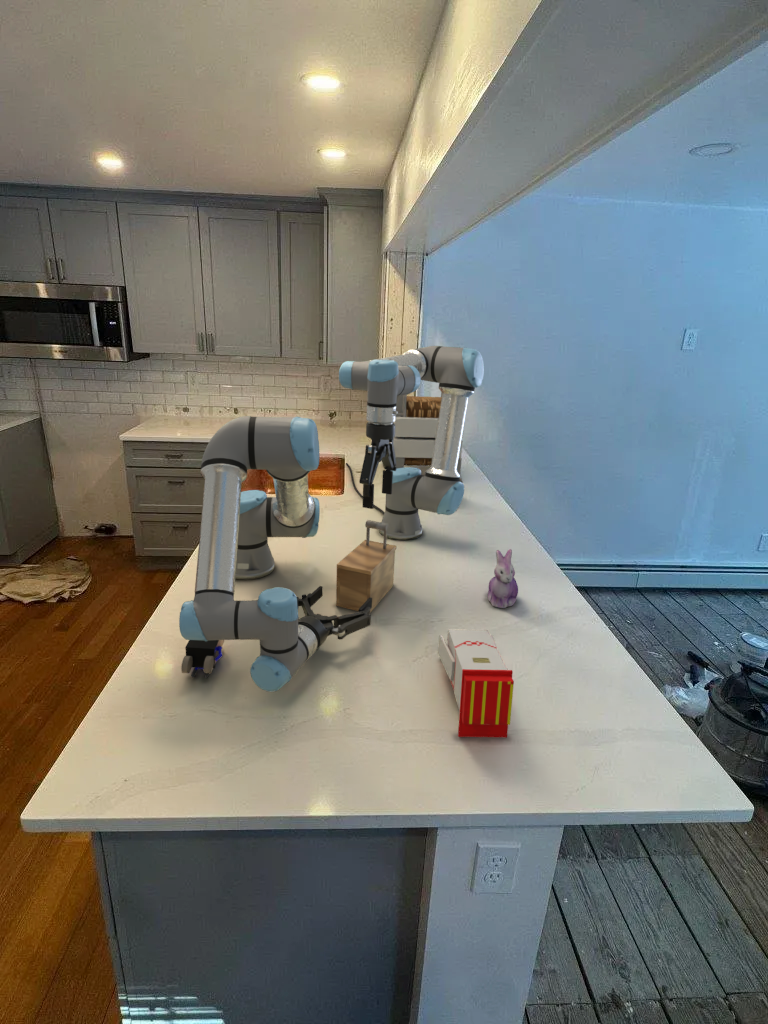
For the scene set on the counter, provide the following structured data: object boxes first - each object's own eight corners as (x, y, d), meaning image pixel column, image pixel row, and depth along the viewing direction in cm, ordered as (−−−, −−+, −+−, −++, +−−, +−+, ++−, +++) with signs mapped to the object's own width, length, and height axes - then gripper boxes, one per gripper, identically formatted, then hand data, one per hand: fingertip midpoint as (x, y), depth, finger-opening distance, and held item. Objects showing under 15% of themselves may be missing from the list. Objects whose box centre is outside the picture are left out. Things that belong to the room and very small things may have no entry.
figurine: (500, 612, 150) (506, 561, 145) (477, 595, 159) (482, 546, 153) (527, 605, 154) (535, 555, 149) (504, 589, 163) (510, 541, 158)
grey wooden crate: (382, 463, 289) (386, 382, 275) (445, 464, 293) (451, 384, 279) (390, 482, 257) (394, 392, 243) (460, 483, 261) (468, 394, 247)
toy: (488, 613, 130) (523, 677, 101) (484, 667, 133) (517, 744, 104) (435, 612, 130) (455, 676, 101) (432, 666, 133) (451, 743, 103)
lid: (364, 542, 163) (365, 515, 160) (396, 549, 159) (397, 521, 157) (336, 567, 146) (337, 537, 143) (370, 575, 143) (372, 544, 140)
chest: (362, 579, 166) (363, 544, 162) (393, 585, 162) (395, 550, 159) (336, 605, 150) (336, 567, 146) (369, 613, 147) (370, 575, 143)
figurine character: (214, 689, 118) (231, 642, 131) (211, 660, 114) (228, 615, 128) (182, 688, 118) (201, 641, 131) (177, 659, 114) (198, 614, 128)
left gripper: (255, 640, 128) (301, 599, 147) (355, 668, 120) (391, 621, 139) (254, 610, 126) (301, 573, 145) (356, 637, 118) (392, 593, 136)
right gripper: (376, 432, 134) (372, 516, 141) (410, 416, 156) (406, 490, 163) (347, 428, 136) (345, 511, 143) (385, 413, 158) (381, 486, 165)
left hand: (345, 596), depth 142 cm, fingers open, 13 cm apart
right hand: (377, 500), depth 153 cm, fingers open, 13 cm apart
